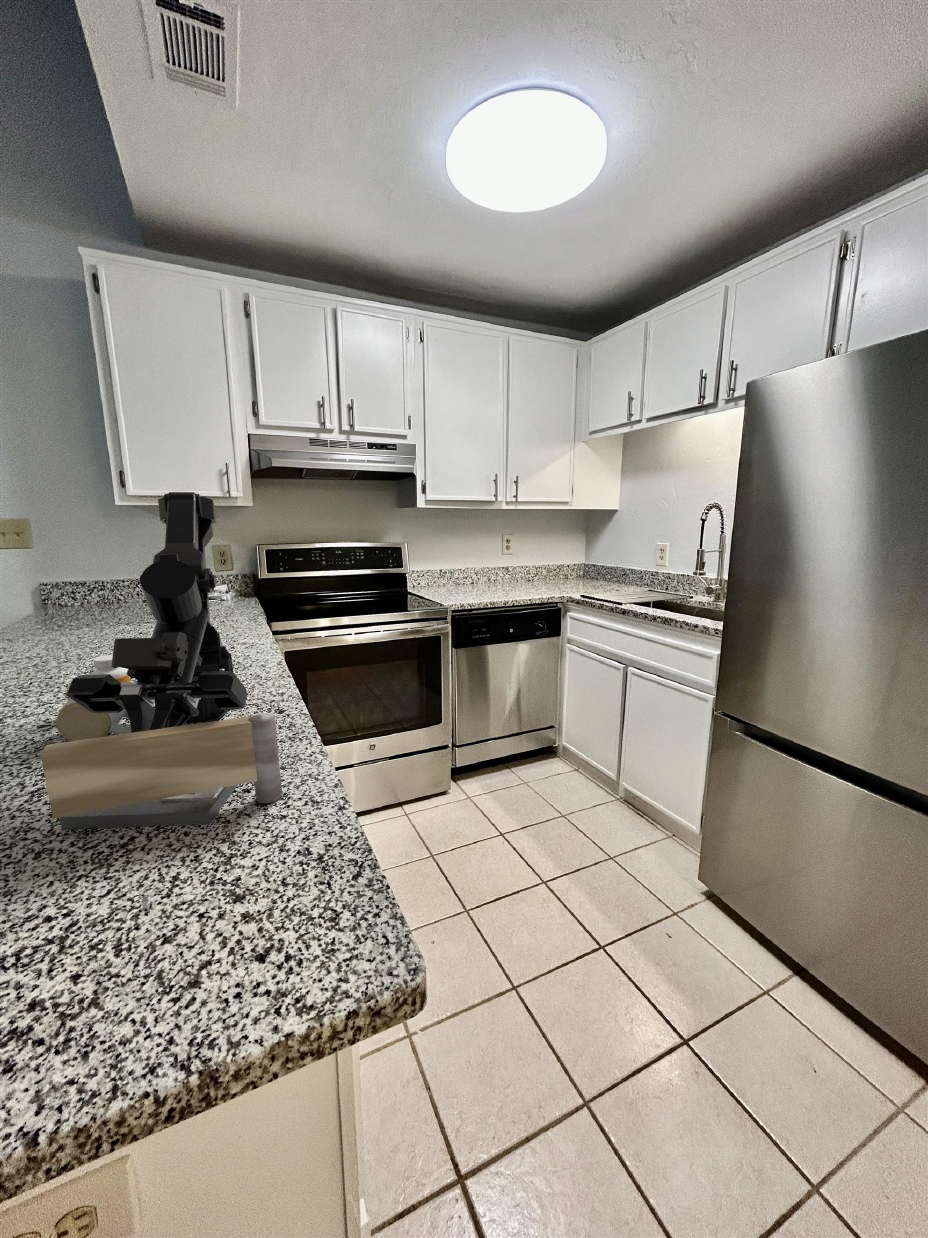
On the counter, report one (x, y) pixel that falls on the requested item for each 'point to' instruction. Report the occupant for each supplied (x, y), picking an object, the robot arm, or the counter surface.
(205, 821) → the panel
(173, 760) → the swing bar
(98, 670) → the supplement bottle
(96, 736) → the ceramic mug
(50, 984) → the counter surface
